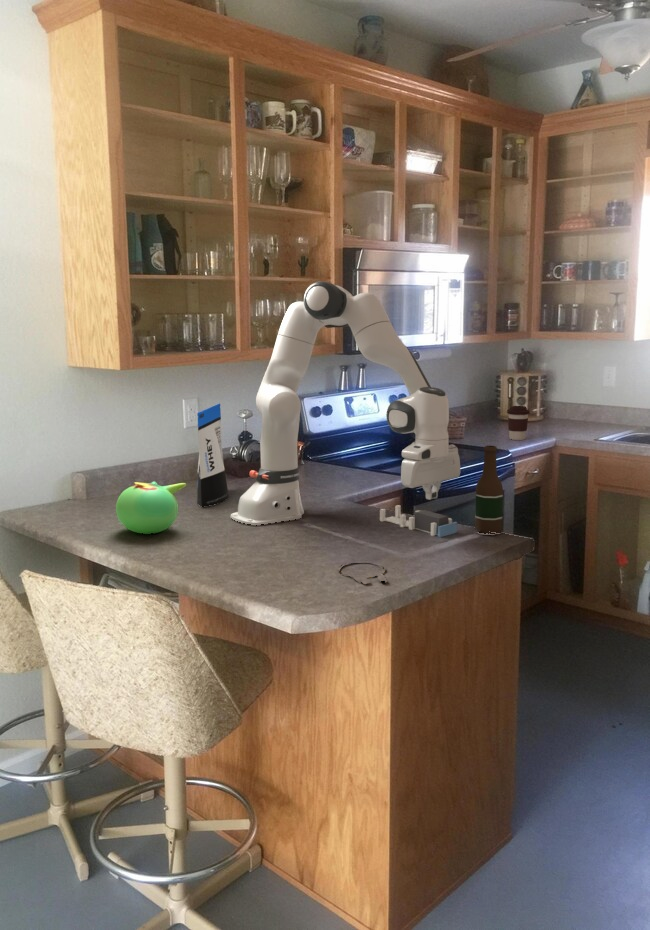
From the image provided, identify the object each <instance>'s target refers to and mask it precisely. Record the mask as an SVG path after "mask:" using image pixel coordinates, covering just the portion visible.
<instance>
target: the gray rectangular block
mask: <svg viewBox="0 0 650 930" xmlns="http://www.w3.org/2000/svg"><path fill="white" fill-rule="evenodd" d="M417 511H418V510H417ZM414 517H415V528H417V529H421V530H425V531H428V532H431V523H433V522H435V523H437V531H436V534H438V526H442V525H446V524H448V518H449V516H448V515H444V514H441V513H437V512H433V511H430V510H425V509H423V510H419V511H418V512H414ZM417 529H416V530H417ZM428 532H427V533H428Z"/></svg>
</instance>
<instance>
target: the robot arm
mask: <svg viewBox="0 0 650 930" xmlns="http://www.w3.org/2000/svg"><path fill="white" fill-rule="evenodd" d="M323 327H325V328H327V329H330V328H331V329H332V328H333V329H334V328H344V327H349V328H350V330H351V333H352V335H353V338H354V340H355V343H356V346H357V348H358V350H359V351H360V354H362V355H363V357H364V358H365V360H366V359H367V360H368V361H370V362H372V363H375V364H378V365H380V366H381V365H382V366H385V367H387V368H389V369H391V370H393V371H395V373H397V374H398V375H399V376H400V378H401V379H402V381H403V383H404V385H405V387H406V389H407V391H408V393H409V395H408V396H406V397H405V396H404V397H401V398H399V399H395V400H393V401H392V402H390V404H389V405H388V407H387V409H386V422H387V425H388V427H389V428H390V429H391V431H393V432H395V433H397V434H404V435H405V434H410V433H414V434H415V440H414V441H413V442H412V443H411V444H409V445H408V446H406V447H405V448H404V449H402V451H401V458H404V459H403V460H402V462H401V467H400V468H401V469H400V481H401V485H402V486H403V487H406V488H410V489H414V488H418V487H422V489H423V491H424V493H425V499H426V500H428V501H429V500H430V501H431V500H433V499H438V494H439V490H440V488H441V485H442V482H444V481H448V480H453V479H457V478H460V475H461V460H460V455H459V449H458V447H457V446H456V445H455V444H453V443H452V444H449V439H450V438H449V437H450V436H449V432H448V426H449V423H450V422H449V421H450V408H449V407H450V406H449V399H448V395H447V392H445V391H444V390H443V389H440V388H438V387H431V384H430V383H429V381H428V379H427V378H426V376H425V374H424V372H423V370H422V368H421V366H420V364H419V363H418V361H417V359H416V357H415V356H414V355H413V353H412V351H411V349H409V348H408V347H407V345H405V344H404V342H403V341H402V340H401V338H400V337H399V336H398V334H397V332H396V330H395V329H394V327H393V324H392V321H391V320H390V318H389V316H388V313H387V311H386V309H385V307H384V306H383V304H382V303H381V301H380V300H379V298H378V297H377V296H376V294H373V293H371V292H360V293H357V294H356V295H354V294H353V293H352V292H350V291H348V290H347V289H345V288H343V287H342V286H340V285H335V284H333V283H331V282H329V281H316V282H313V283H312V284H310V285H309V286H308V287H307V289H306V290H305V293H304V296H303V301H295V302H293V303H291V304H290V305H289V306H288V308H287V311H286V312H285V314H284V316H283V319H282V321H281V324H280V326H279V330H278V332H277V333H278V334H277V336H276V340H275V344H274V347H273V350H272V352H271V353H272V354H271V358H270V360H269V362H268V365H267V368H266V371H264V375H263V378H262V380H261V383H260V386H259V388H258V390H257V391H258V392H257V394H256V396H255V404H256V408H257V410H258V411H259V414H261V416H262V421H261V422H262V424H261V425H262V426H261V435H260V436H261V437H260V442H259V445H260V446H259V449H260V467H259V469H258V471H257V470H254V469H253V470H250V471H249V476H250V478H255V479H256V481H254V483H253V484H252V485H251V486H250V487H249V488H248V489H247V490H246V491H245V492H244V493H243V494H242V495H241V496H240V497H239V500H238V505H237V511H236V512H233V513H231V514H230V519H231V518H232V519H233V520H232V519H231V520H232V521H234V520H235V521H234V522H237V521H238V522H237V523H239V522H241V523H240V524H243V523H245V524H244V525H247V524H251V525H250V526H256V525H257V526H262V525H261V524H264V525H269V524H268V523H271V524H275V522H277V523H282V522H281V521H284V522H288V521H289V520H290V521H295V519H296V520H301V519H302V517H303V515H304V514H305V511H304V508H303V504H302V503H303V502H302V500H301V499H302V498H301V495H300V493H301V492H300V487H299V481H300V467H299V466H298V465H299V464H298V463H299V461H298V439H299V430H300V429H299V428H300V422H301V421H300V418H301V410H302V404H301V400H300V397H299V395H298V394H297V392H298V389H299V386H300V384H301V382H302V379H303V378H304V376H305V375H306V373H307V371H308V367H309V364H310V361H311V358H312V354H313V350H314V347H315V344H316V339H317V336H318V333H319V331H320V329H322V328H323ZM300 518H301V519H300Z"/></svg>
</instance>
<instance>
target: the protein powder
mask: <svg viewBox="0 0 650 930" xmlns="http://www.w3.org/2000/svg"><path fill="white" fill-rule="evenodd" d="M196 414H197V415H196V416H197V435H198V454H199V455H198V463H197V464H198V465H197V477H196V478H197V480H196V481H197V487H196V488H197V489H196V493H197V494H196V495H197V496H196V503H197V505H198V504H199V505H200V506H199V505H198V506H199V507H201V506H202V507H203V508H205V507H204V506H208V507H210V506H209V505H212V506H215V505H214V504H216V505H218V504H217V503H219V504H221V503H224V502H225V501H227V500H228V499H229V498H230V496H229V489H228V483H227V476H226V470H225V469H226V468H225V464H224V454H223V445H222V444H223V441H222V440H223V438H222V437H223V436H222V416H221V415H222V414H221V403H220V402H219V403H217V404H214V405H212V406H209V407H208V408H206V409H204V410H201V411H199V412H196ZM227 498H228V499H227ZM226 499H227V500H226ZM223 501H224V502H223ZM220 502H221V503H220ZM202 507H201V508H202Z"/></svg>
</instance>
